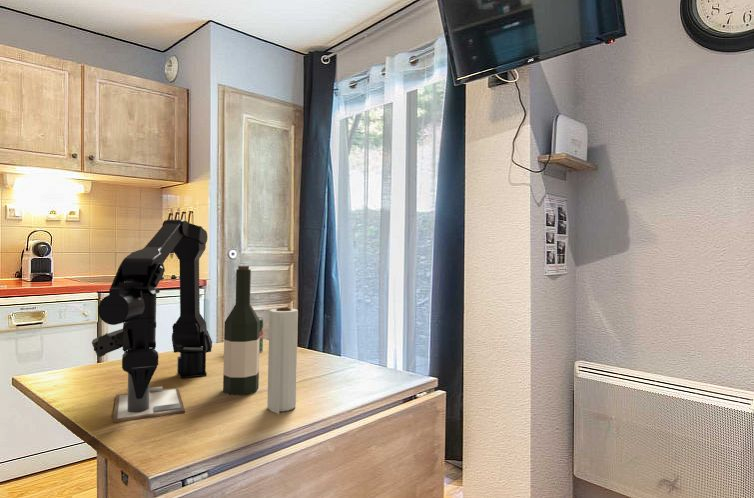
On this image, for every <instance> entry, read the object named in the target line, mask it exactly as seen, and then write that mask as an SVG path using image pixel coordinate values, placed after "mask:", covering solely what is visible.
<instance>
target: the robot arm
mask: <svg viewBox="0 0 754 498" xmlns="http://www.w3.org/2000/svg"><path fill="white" fill-rule="evenodd" d="M161 225H162V226H161V227H160V228H159V230H157V232H156V233H155V234H154V236H153V237H152V238H151V239H150V240H149V241H148V243H147V244H146V245H145V246H144V247H143V248H141V249H138V250H134V251H133V252H131V253H130V254H128V255H127V256H126V257H124V259H122V261H121V262H120V264H119V267H118V269H117V272H116V274H115V276H114V279H113V281H112V282H111V285H110V288H109V289H108V291H109V292H108V293H109V294H108V295H105V296H104V297H103V298H102V299H101V300H100V302H99V305H98V307H97V312H98V316H99V318H100V320H102V322H104V323H105V324H108V325H110V326H114V325H115V326H116V325H120V324H123V325H122V328H119V329H118V330H115V331H111V332H109V333H107V332H106V333H105V334H103V335H98V336H97V337H96V338H94V339H92V341H91V344H92V348H93V351H94V352H95V355H96V356H97V358H101V357H103V356H106V354H109V353H111V352H113V351H116V350H119V349H122V351H123V354H122V358H121V369H122V371H124V372H126V373H127V374H128V373H129V374H130V375H131V376H132V381H133V385H134V390H135V395H136V399H142V398H143V396H144V394H145V391H146V389H147V387H148V385H149V383H150V382H151V380H152V378H153V376H154V373H155V372H156V370H157V368H158V366H159V352H158V351H157V350H156V347H157V345H156V342H157V341H156V328H157V320H156V319H157V294H159V293H160V292H161V291H160V289H159V287H158V285H159V284H160V281H162V278H163V276H164V274H165V272H166V269H165V265H164V263H165V261H166V259H167V258H168V256H170V254H171V253H172V252H173V253H174V254H175V256H176V258H177V259H178V260H179V261H178V262H179V311H180V313H179V316H178V319H177V320H176V321H175V322H174V323H173V324H172V333H171V343H172V351H173V353H176V354H177V353H179V356H177V364H176V365H177V366H176V367H177V369H176V372H177V375H179V377H180V379H181V378H182V379H184V378H194V377H202V376H203V377H204V376H207V375H208V373H207V369H206V365H207V363H206V361H207V353H210V352H212V350H213V349H212V348H213V340H212V339H211V336H210V333H209V332H208V330H207V328H208V327H207V322H206V319H204V317H203V316H202V314H201V312H200V311H201V310H200V305H201V304H200V301H201V300H200V258H201V257H202V256H203V255H204V253H205V251H206V247H207V242H208V232H207V231H206V230H205V229H204V227H203V226H201V225H196V224H193V223H190V222H189V221H187V220H184V219H174V218H173V219H171V218H170V219H165V220H163V222H162V224H161ZM150 384H151V383H150Z"/></svg>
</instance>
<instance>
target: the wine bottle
mask: <svg viewBox="0 0 754 498" xmlns="http://www.w3.org/2000/svg"><path fill="white" fill-rule="evenodd" d="M237 267H238V268H237V269H236V273H235V275H236V278H235V304H234V306H233V307H232V309H231V310H230V313H229V314H228V316H227V317H226V319H225V320H224V332H223V333H224V335H223V337H224V338H223V380H222V382H223V383H222V392H223V393H224V394H225V395H228V396H247V395H250V394H255V393H257V391H258V389H259V384H260V383H259V382H260V377H259V376H260V374H259V373H260V353H259V343H260V320H259V318H258V317H259V316H258V315H257V313H256V311H255V310H254V308H253V307H252V304H251V284H252V283H251V277H252V276H251V275H252V274H251V273H252V269H250V266H249V265H238V266H237Z"/></svg>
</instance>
